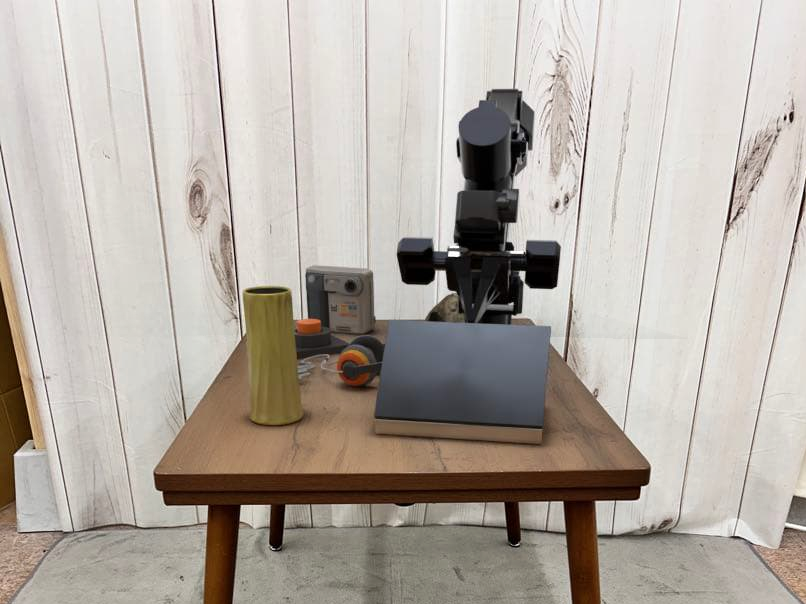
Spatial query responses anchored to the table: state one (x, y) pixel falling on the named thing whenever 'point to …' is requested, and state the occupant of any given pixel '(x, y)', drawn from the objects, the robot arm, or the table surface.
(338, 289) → the camera
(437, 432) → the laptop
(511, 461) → the table surface
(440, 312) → the fossilized seashell
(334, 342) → the dock
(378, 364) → the headphones
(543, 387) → the black flat panel
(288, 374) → the vase
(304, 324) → the power button
